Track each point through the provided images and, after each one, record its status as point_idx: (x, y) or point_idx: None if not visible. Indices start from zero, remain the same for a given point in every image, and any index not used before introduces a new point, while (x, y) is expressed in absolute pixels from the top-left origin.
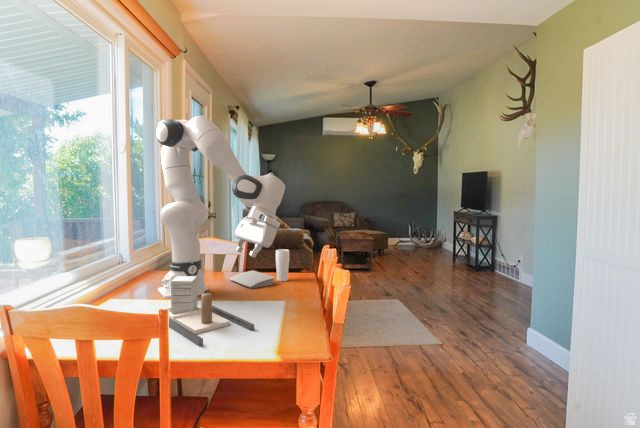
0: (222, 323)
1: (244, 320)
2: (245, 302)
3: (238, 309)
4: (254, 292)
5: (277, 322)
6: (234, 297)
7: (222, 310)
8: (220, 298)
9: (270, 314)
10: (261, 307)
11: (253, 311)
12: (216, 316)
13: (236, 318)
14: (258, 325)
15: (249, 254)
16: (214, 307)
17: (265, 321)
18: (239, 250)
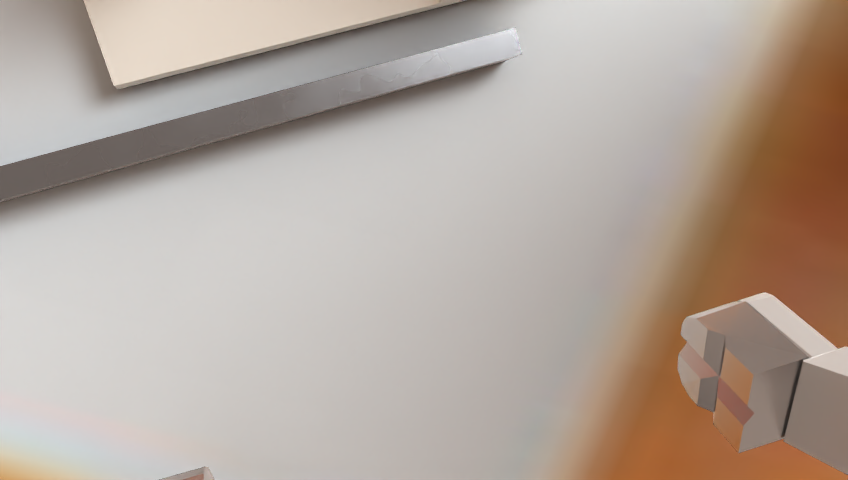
0: (91, 19)
1: (26, 184)
2: (597, 334)
3: (460, 245)
4: (793, 453)
5: (28, 442)
6: (743, 288)
7: (363, 89)
8: (763, 187)
9: (241, 439)
10: (433, 416)
11: (366, 337)
12: (276, 19)
13: (108, 138)
14: (22, 289)
15: (198, 477)
16: (468, 51)
17: (93, 363)
18: (706, 362)
